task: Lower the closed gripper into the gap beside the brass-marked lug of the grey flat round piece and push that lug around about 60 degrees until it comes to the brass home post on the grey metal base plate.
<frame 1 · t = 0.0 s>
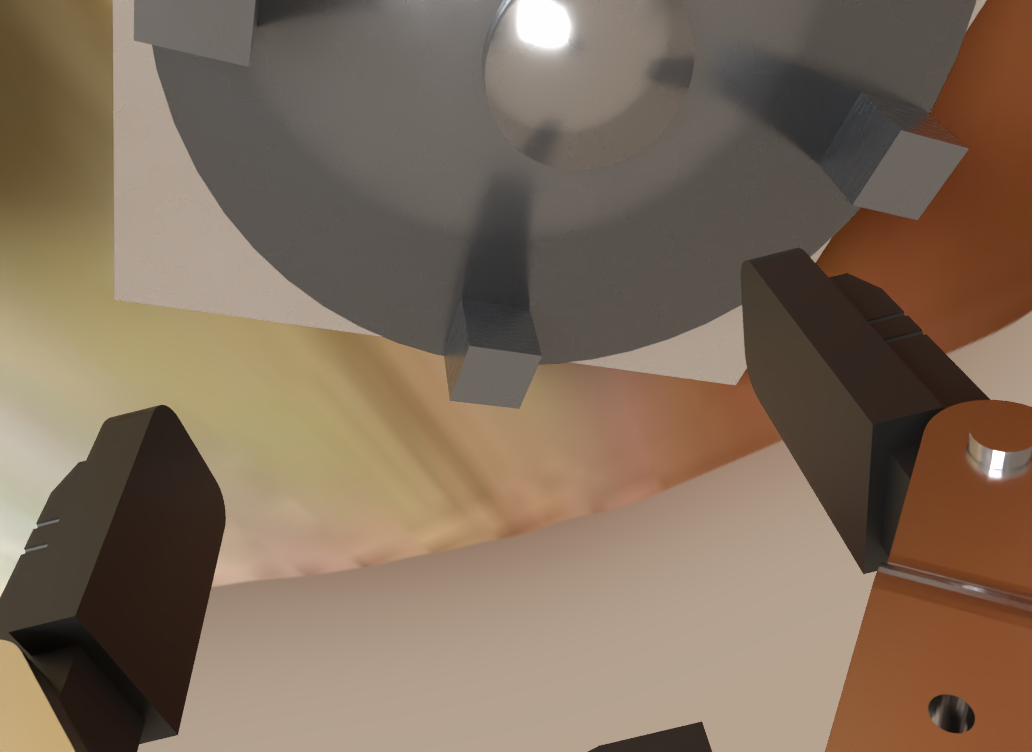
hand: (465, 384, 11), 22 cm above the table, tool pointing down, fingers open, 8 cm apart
grey flat round piece: (588, 69, 27), point 4 cm above the table, hinge at 0.0°
base plate: (563, 20, 31), on the table
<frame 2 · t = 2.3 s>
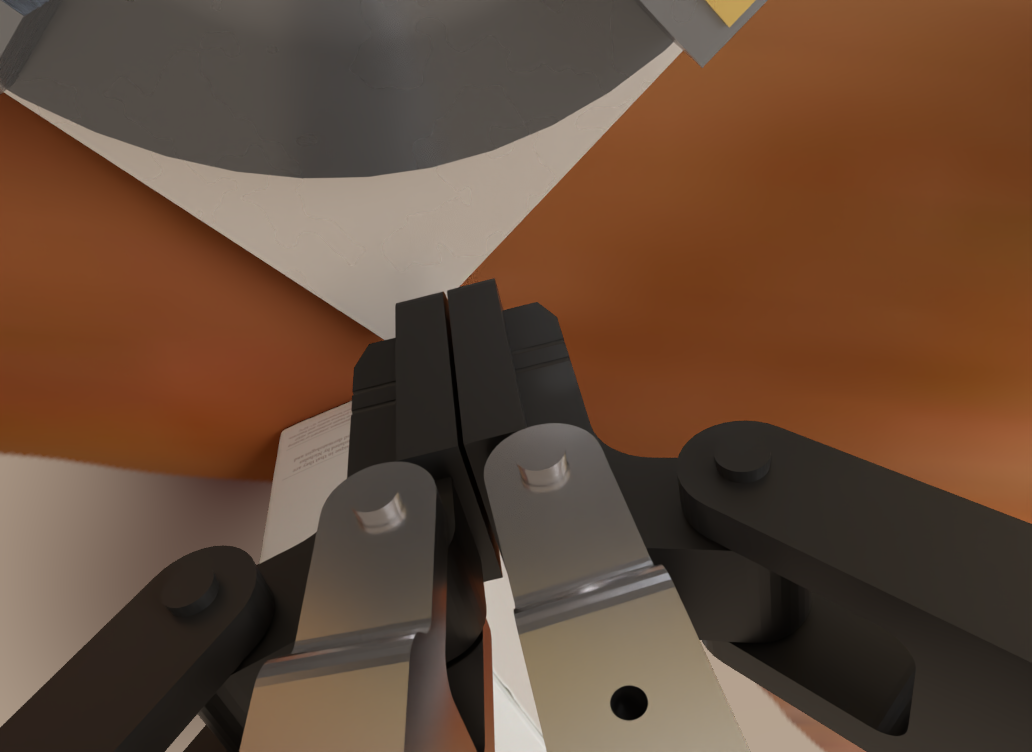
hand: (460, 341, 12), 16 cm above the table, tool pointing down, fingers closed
supplement box: (401, 454, 35), on the table
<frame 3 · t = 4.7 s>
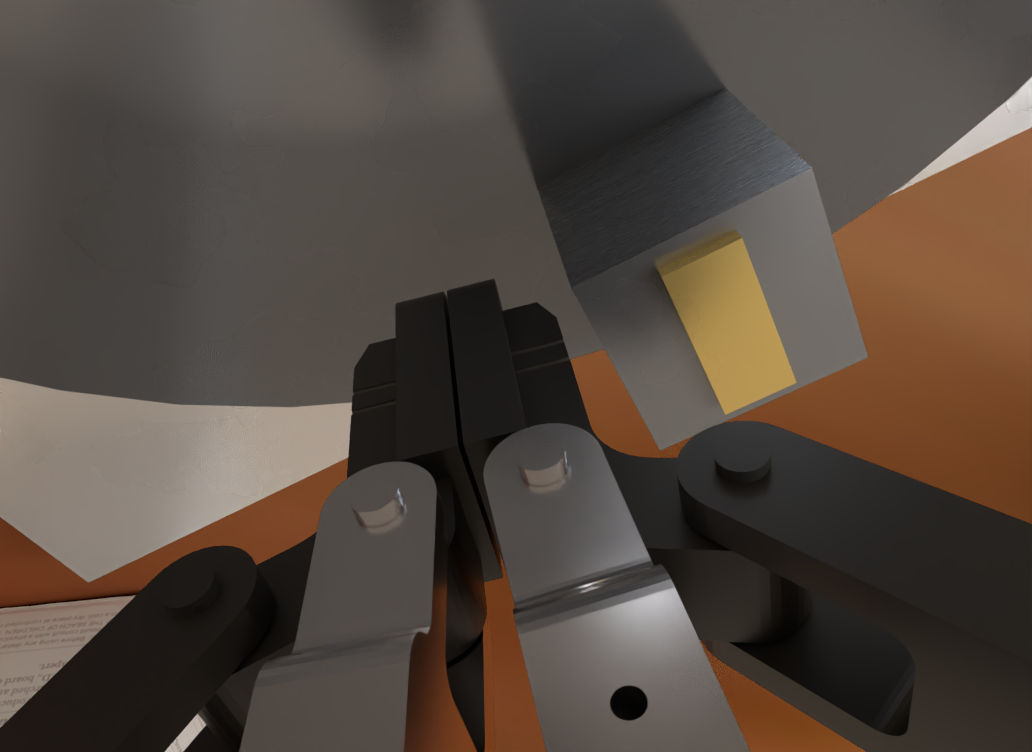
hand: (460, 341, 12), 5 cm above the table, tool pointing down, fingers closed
supplement box: (72, 678, 24), on the table
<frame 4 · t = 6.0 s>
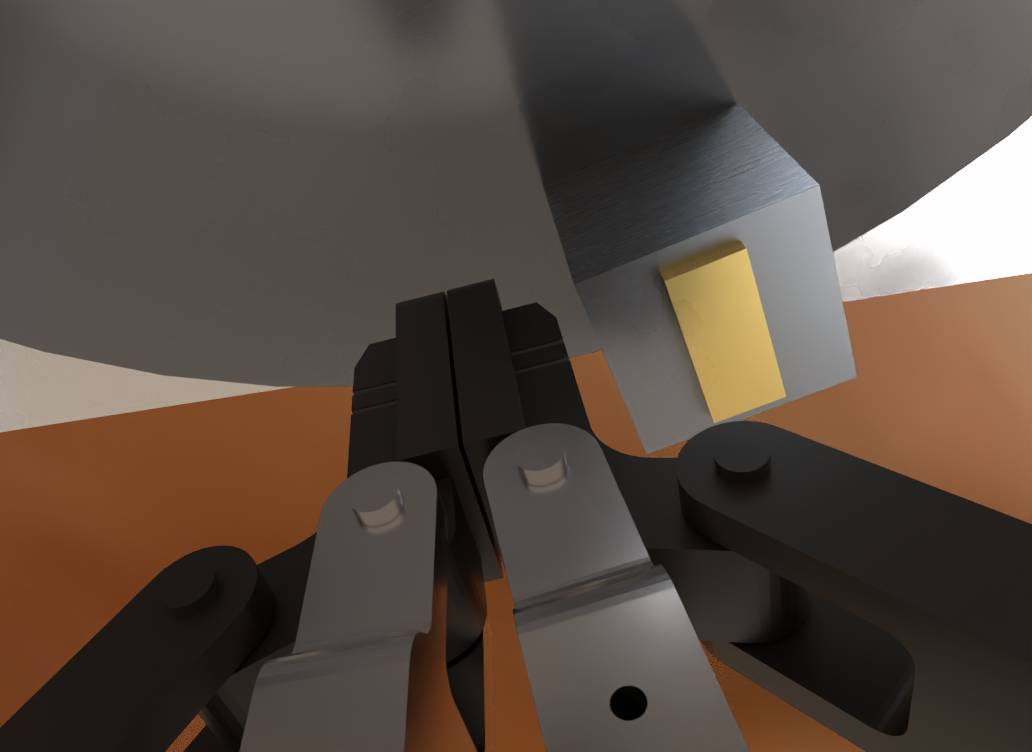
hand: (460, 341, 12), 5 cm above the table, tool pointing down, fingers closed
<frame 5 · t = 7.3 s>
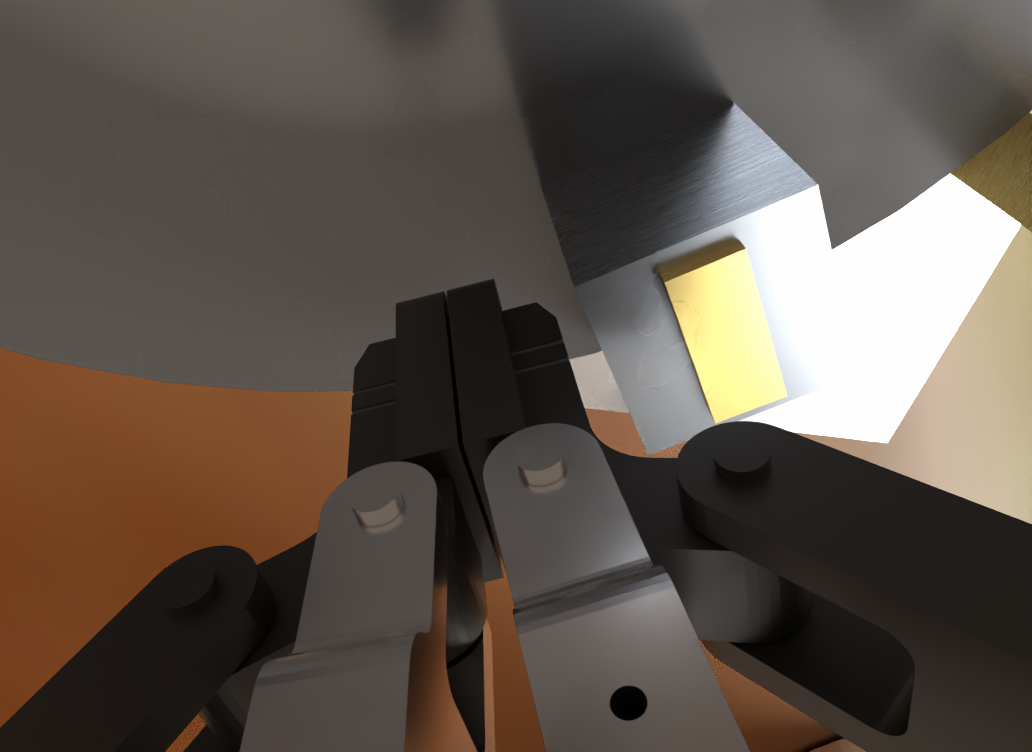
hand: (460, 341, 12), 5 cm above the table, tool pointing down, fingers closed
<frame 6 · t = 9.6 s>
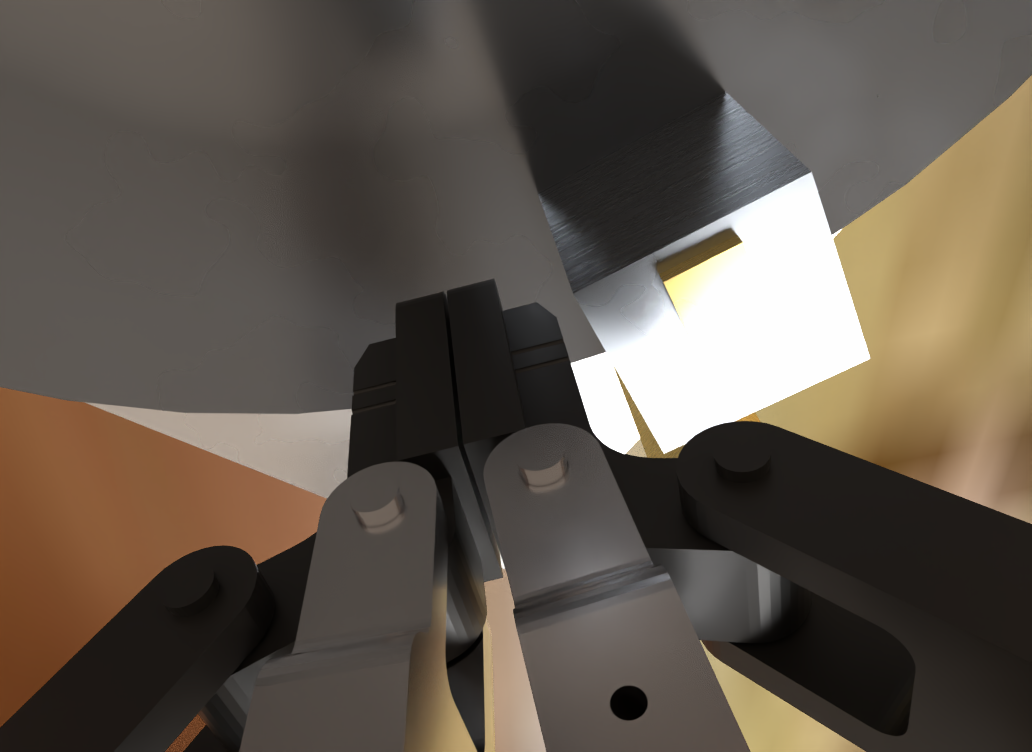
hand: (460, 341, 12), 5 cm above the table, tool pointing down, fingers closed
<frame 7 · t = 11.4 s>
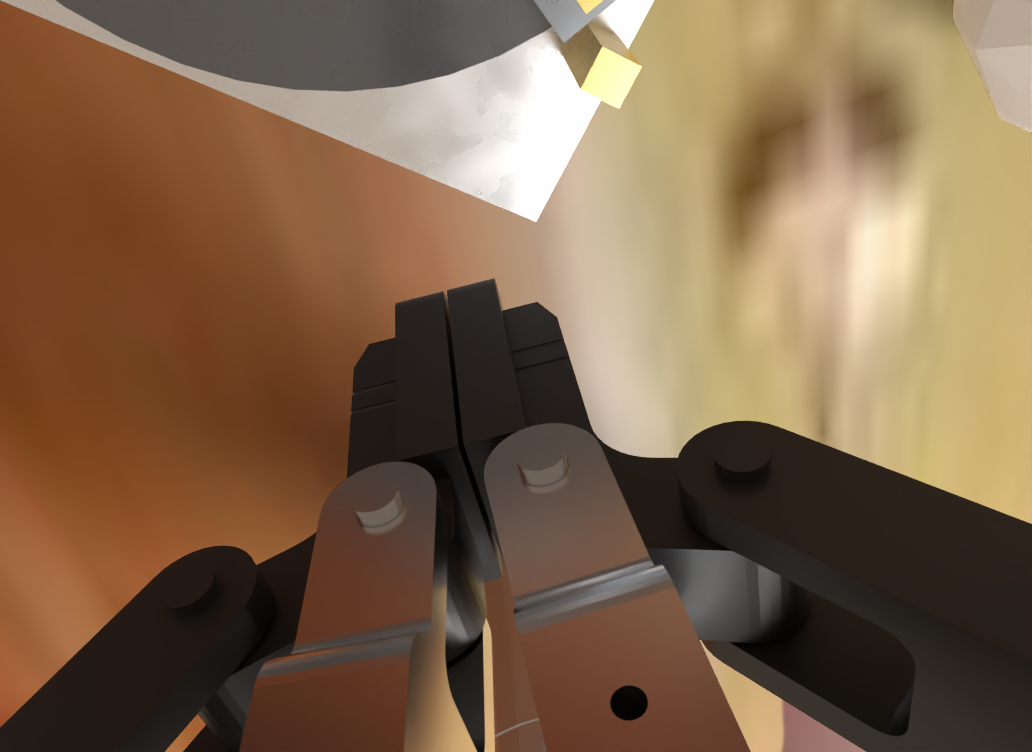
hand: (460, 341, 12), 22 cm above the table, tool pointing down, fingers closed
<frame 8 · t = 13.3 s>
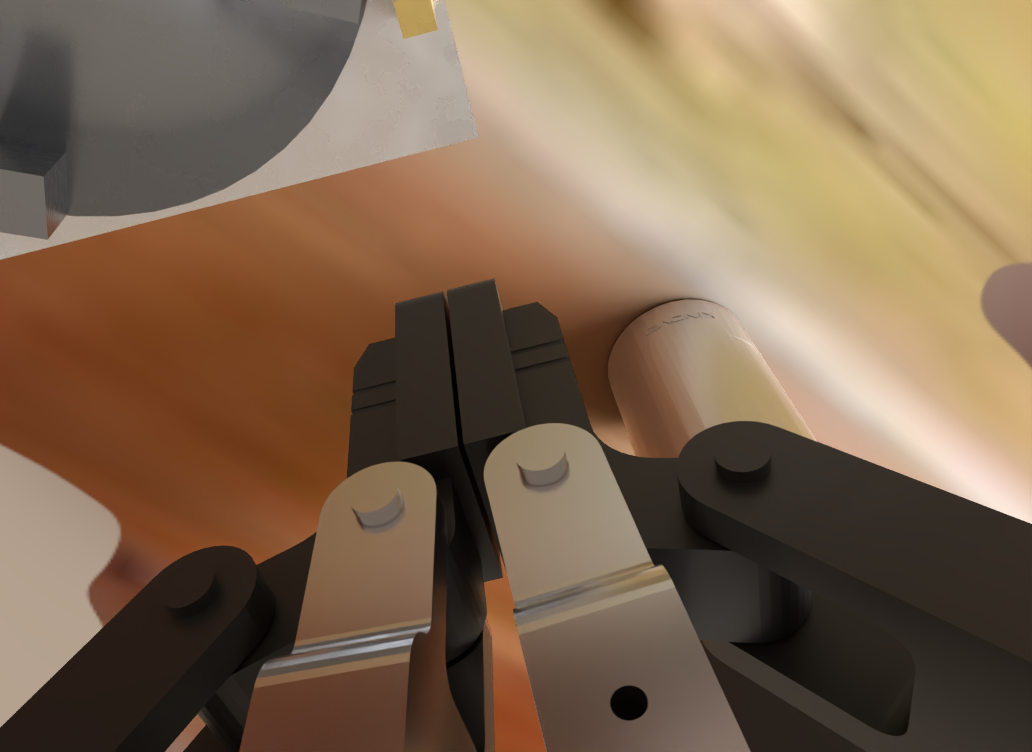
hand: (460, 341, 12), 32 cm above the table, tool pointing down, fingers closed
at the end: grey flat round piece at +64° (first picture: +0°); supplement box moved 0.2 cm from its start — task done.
